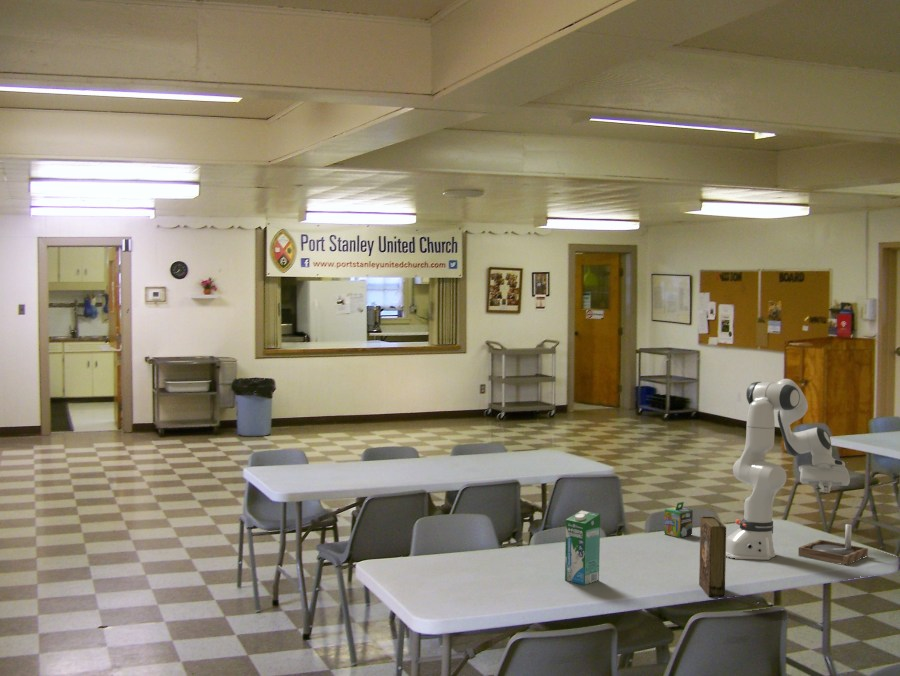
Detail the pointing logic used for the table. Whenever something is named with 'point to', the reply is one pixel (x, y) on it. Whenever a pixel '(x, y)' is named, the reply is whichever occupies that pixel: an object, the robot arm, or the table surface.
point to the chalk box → (678, 521)
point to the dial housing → (832, 557)
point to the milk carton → (582, 547)
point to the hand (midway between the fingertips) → (826, 491)
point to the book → (712, 556)
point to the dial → (836, 548)
